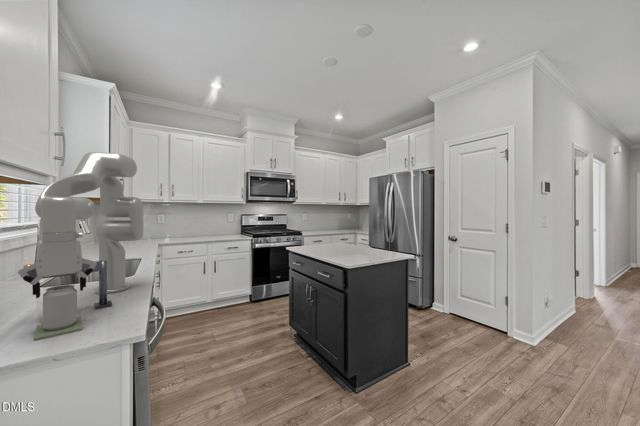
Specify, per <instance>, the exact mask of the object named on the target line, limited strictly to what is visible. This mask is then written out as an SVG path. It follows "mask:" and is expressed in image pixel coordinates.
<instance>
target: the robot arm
mask: <svg viewBox="0 0 640 426" xmlns="http://www.w3.org/2000/svg"><path fill="white" fill-rule="evenodd" d="M137 167H138V165H137V163H136V161H135V160H134V159H133V158H132V157H130V156H127V155H125V154H121V153H117V152H105V151H104V152H102V151H90V152H87V153H85V154H84V155H83V156H82V158H81V159H80V161H79V163H78V165H77V166H76V168H75V170H74V171H73V173H72V174H70V175H68V176H67V175H66V176H64V177H63V178H61V179H58V180H56V181H54V182H52V183H50V184H48V185H47V186H46V187H44V189H43V190H42V192H41V193H40V195H39V196H38V198H37V201H35V204H34V205H35V206H34V211H35V213H36V215H37V216H38V217H39V218H41V242H38V245H37V250H36V257H35V260H36V261H35V262H34V263H31V264H32V265H29V266H27V267H25V268H23V267H22V268H21V269H19V270H18V271H17V274H18V276H20V277H21V278H22V280H23V281H24V280H25V281H24V282H27V283H29V284H30V285H32V296H35V298H36V299H39V298H40V297H41V282H40V280H43V279H44V278H43V277H50V276H58V275H66V274H74V273H77V274H76V275H79V276H80V277H79V291H80V292H83V291H84V288H86V287H87V277H88V276H89V275H90V274H92V273H93V272H92V271H93V270H94V268H95V266H96V265H97V262H96V261H94V260H90V259H87V258H83V253H82V247H81V243H80V240H77V239H79V238H83V233H82V232H77V221H83V220H88V219H90V218H92V217H93V216H94V214H95V212H96V205H95V203H94V201H93V200H91V199H90V198H87V197H80V196H78V197H77V196H76V195H80V194H85V193H89V192H92V191H95V190H97V189H99V202H100V203H99V207H100V212H101V213H100V214H101V215H102V216H103V217H105V218H129V219H130V220H129V219H128V220H127V219H126V220H125V219H122V220H120V219H119V220H117V219H115V220H114V219H112V220H111V219H109V220H104V221H101V222H98V224H97V225H96V228H95V229H96V230H95V234H96V239H97V243H98V261H107V294H114V293H119V292H122V291H125V290H128V289H130V284H129V283H126V249H125V247H124V246H123V245H122V244H121V243H120V242H133V241H134V242H135V241H139V240H141V239H142V238H143V236H144V204H143V201H142V200H141V199H140V198H139V197H135V196H124V195H125V192H124V191H125V190H124V184H123V183H122V182H121V180H119V178H133V177H134V176H136V174H137V172H138V168H137ZM82 263H85V264H89V265H90V267H89V269H87V270H86V271H85V272H84V271H83V270H82ZM34 268H36V274H37V276H36V277H35V278H33V277H31V276H29V275H28V274H27V272H28V271H30V270H32V269H34ZM42 278H43V279H42ZM94 293H95V294H99V286H98V287H96V288H95V289H94Z"/></svg>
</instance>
